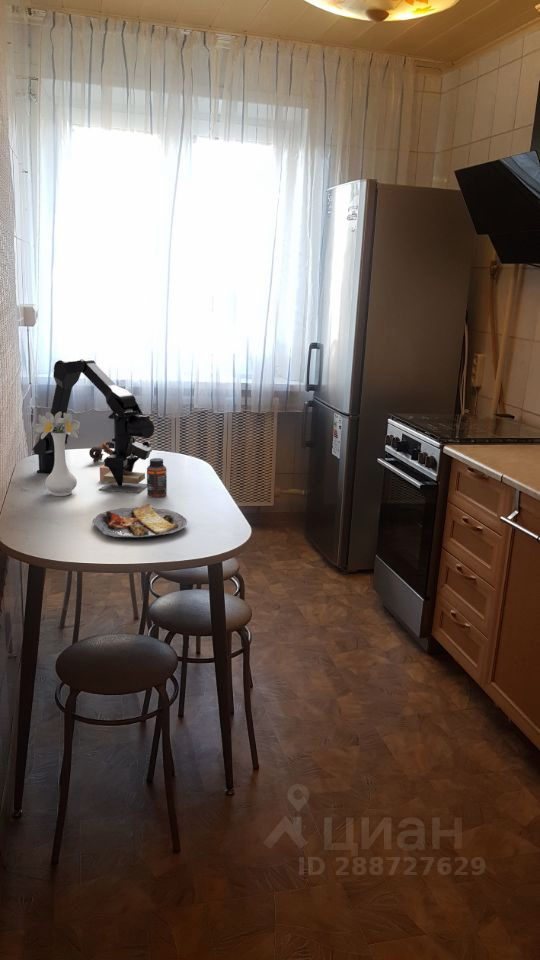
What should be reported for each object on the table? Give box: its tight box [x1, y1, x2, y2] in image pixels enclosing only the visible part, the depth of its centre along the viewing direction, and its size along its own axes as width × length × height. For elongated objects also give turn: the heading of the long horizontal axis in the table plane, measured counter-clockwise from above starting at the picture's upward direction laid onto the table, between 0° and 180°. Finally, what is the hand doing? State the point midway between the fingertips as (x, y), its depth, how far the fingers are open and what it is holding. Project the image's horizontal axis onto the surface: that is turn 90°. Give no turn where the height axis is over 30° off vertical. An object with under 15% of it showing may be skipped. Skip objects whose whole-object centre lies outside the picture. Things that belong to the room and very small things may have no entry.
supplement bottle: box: [146, 457, 168, 498], centre depth 233 cm, size 6×6×11 cm
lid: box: [103, 470, 146, 484], centre depth 241 cm, size 7×11×3 cm, turn 81°
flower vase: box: [33, 411, 81, 497], centre depth 230 cm, size 13×18×25 cm
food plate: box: [91, 503, 188, 539], centre depth 203 cm, size 25×23×4 cm
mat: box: [98, 482, 147, 494], centre depth 242 cm, size 13×10×1 cm
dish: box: [99, 464, 110, 482], centre depth 253 cm, size 6×10×4 cm, turn 171°
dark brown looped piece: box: [88, 441, 114, 463], centre depth 274 cm, size 12×10×8 cm
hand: (124, 482), depth 241 cm, fingers closed on lid, 7 cm apart
